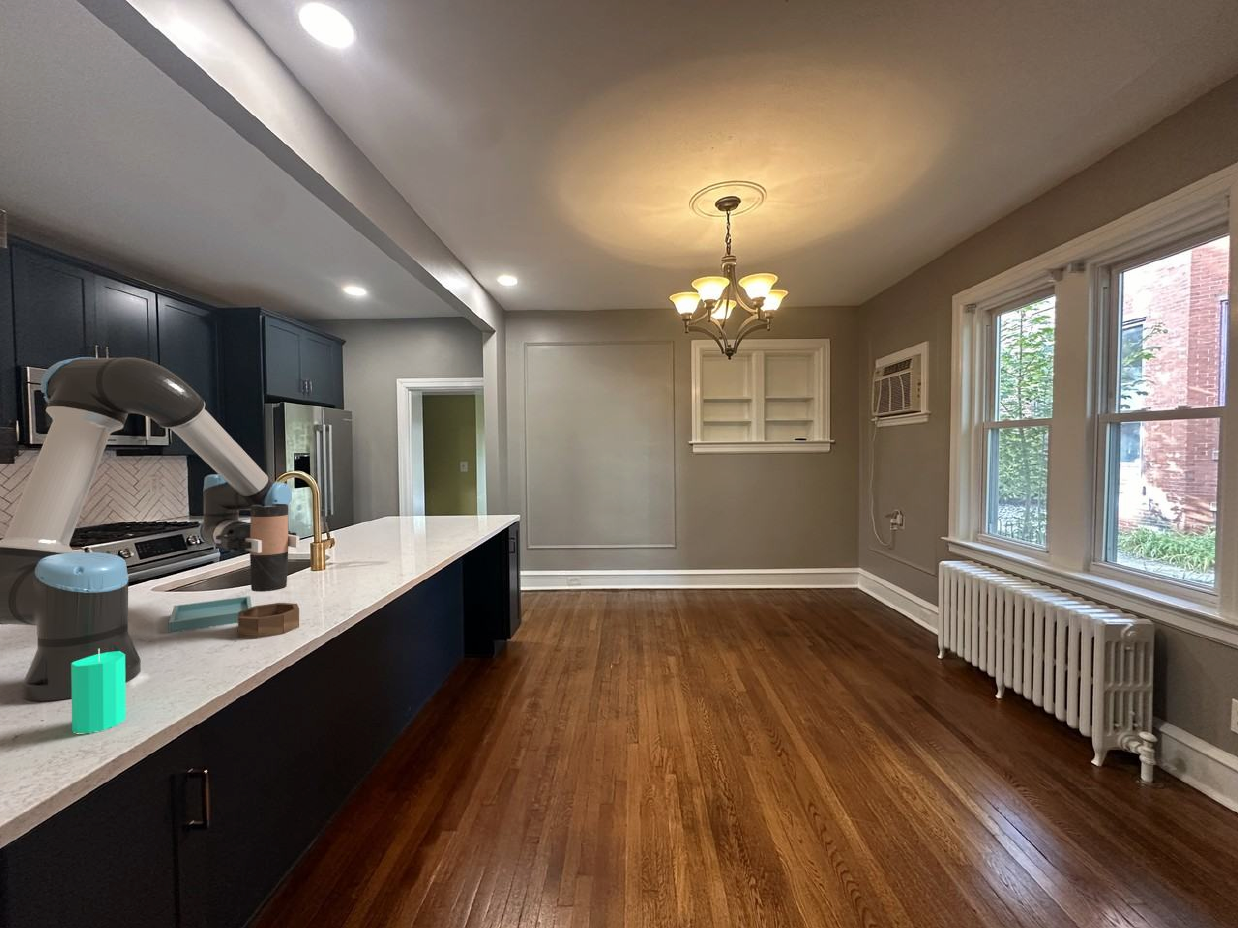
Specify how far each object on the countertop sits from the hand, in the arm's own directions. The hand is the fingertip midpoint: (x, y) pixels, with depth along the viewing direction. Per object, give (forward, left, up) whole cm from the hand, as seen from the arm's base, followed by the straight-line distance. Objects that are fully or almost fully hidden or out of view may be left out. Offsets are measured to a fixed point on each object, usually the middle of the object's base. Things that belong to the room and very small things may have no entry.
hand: (279, 544), depth 123 cm
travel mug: (-2, +4, -11) cm, 12 cm away
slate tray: (-13, +22, -21) cm, 33 cm away
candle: (-26, -33, -21) cm, 47 cm away
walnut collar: (-2, +4, -21) cm, 21 cm away
